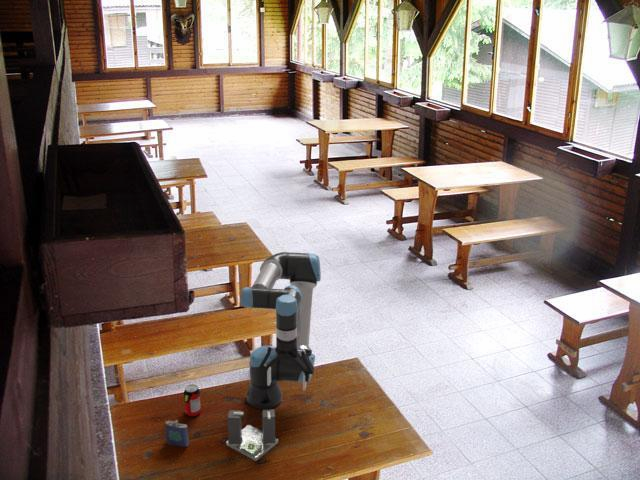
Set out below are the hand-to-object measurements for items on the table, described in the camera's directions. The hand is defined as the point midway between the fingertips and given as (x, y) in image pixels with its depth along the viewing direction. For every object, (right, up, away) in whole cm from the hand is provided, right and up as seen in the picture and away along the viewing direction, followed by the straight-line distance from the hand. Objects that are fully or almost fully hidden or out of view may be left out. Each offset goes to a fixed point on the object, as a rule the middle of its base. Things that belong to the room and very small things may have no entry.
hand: (286, 385), depth 239 cm
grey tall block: (-7, -22, +5) cm, 23 cm away
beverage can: (-40, -16, +23) cm, 49 cm away
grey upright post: (-20, -22, +5) cm, 30 cm away
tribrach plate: (-14, -23, +6) cm, 28 cm away
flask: (-42, -23, +5) cm, 49 cm away
